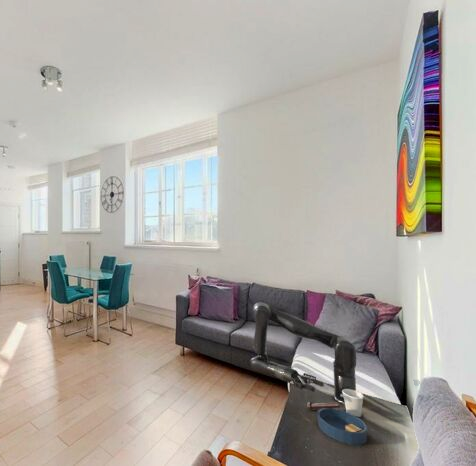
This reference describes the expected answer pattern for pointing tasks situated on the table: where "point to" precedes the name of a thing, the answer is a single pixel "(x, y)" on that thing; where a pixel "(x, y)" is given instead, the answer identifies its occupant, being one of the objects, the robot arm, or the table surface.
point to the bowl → (341, 426)
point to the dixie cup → (353, 401)
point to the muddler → (323, 405)
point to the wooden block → (352, 428)
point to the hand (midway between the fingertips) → (318, 387)
